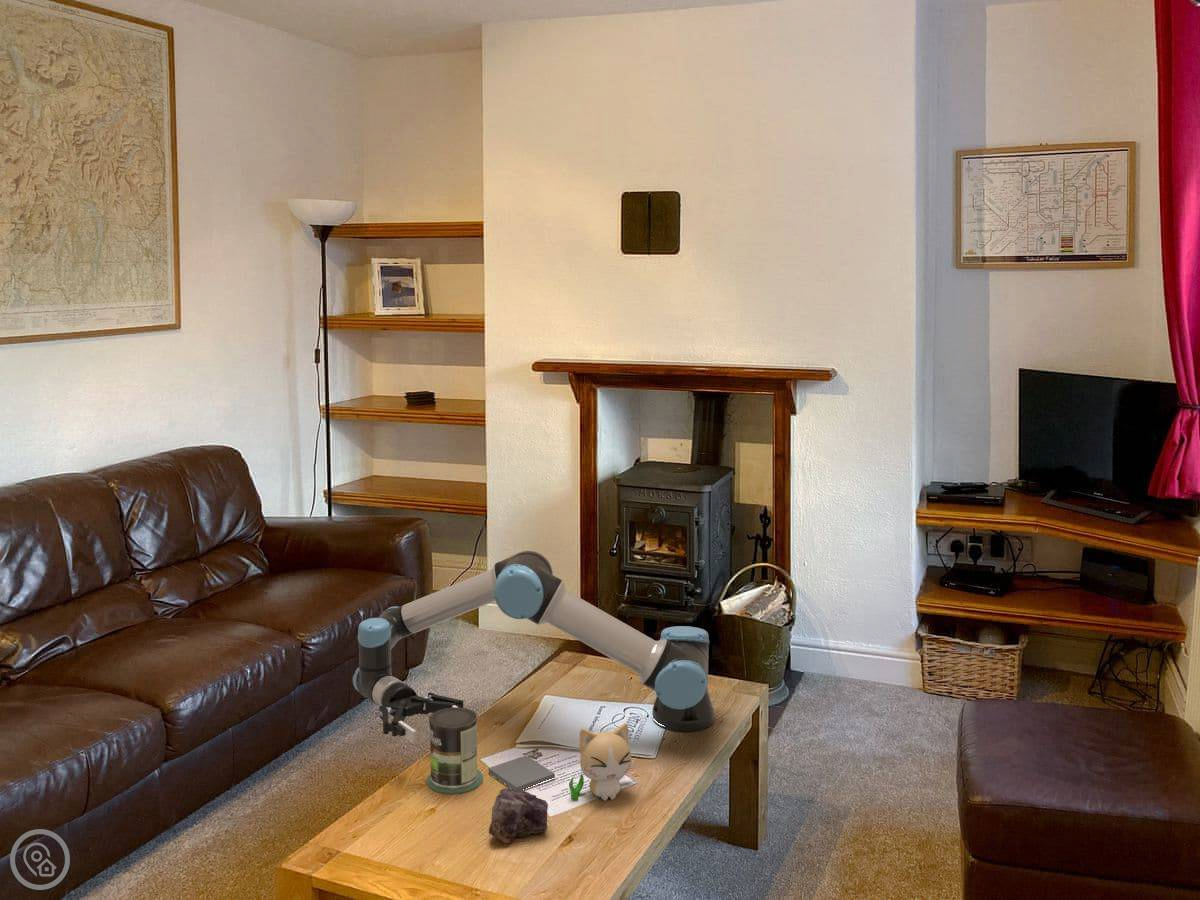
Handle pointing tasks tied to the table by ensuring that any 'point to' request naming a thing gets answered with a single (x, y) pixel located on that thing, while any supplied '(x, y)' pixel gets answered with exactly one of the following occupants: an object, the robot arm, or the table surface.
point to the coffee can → (453, 747)
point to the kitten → (603, 761)
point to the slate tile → (521, 773)
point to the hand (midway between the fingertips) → (442, 728)
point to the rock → (517, 815)
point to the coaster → (458, 790)
